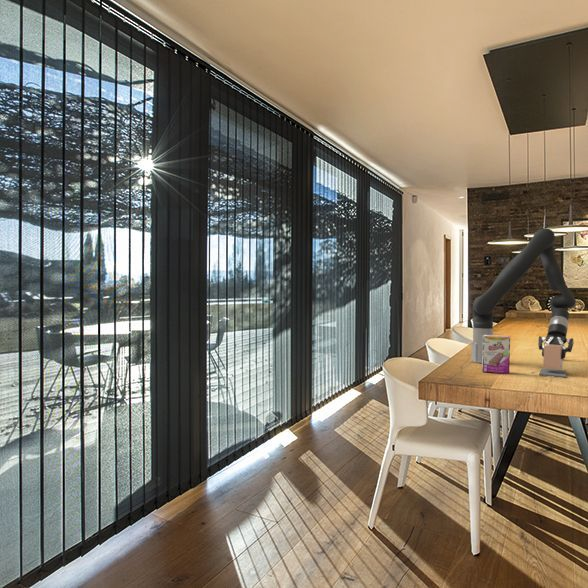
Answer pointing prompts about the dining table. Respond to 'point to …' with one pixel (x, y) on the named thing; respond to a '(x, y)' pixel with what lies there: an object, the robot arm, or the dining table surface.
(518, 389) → the dining table surface
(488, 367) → the candy bar box
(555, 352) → the pinkish tan block
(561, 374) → the rubber mat
